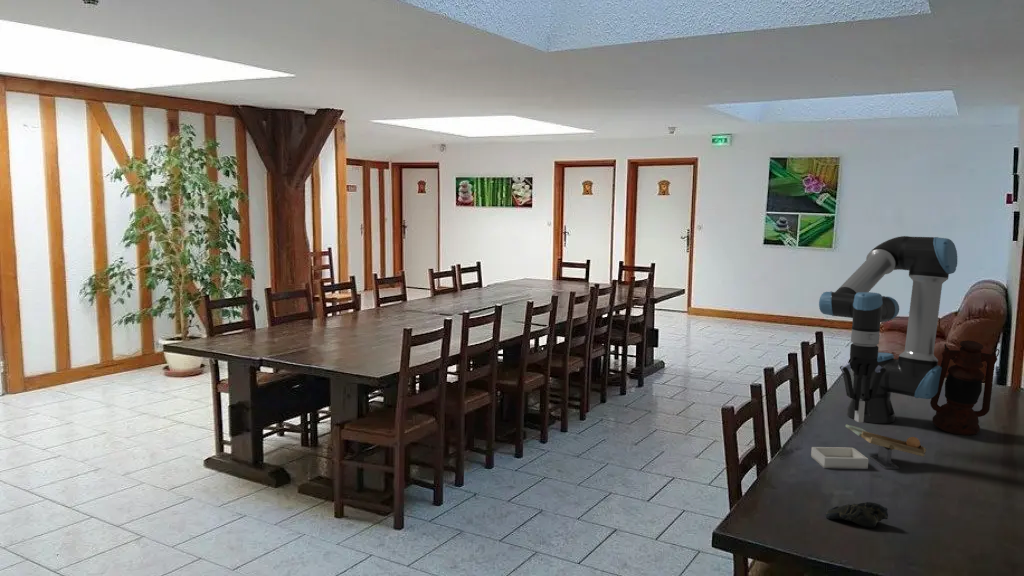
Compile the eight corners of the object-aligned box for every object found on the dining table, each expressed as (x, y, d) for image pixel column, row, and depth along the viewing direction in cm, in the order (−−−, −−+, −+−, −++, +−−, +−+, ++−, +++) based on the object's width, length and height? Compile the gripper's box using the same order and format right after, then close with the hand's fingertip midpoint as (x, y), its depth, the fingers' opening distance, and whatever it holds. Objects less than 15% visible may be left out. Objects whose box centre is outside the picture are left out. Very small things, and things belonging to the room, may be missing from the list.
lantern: (930, 431, 240) (945, 349, 230) (923, 411, 252) (937, 332, 242) (990, 439, 234) (1009, 355, 224) (980, 418, 246) (997, 338, 236)
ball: (902, 445, 211) (905, 434, 211) (914, 447, 211) (917, 436, 211) (908, 449, 208) (912, 437, 207) (920, 451, 208) (924, 440, 207)
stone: (824, 512, 177) (825, 491, 176) (884, 520, 172) (886, 499, 171) (826, 524, 170) (827, 502, 170) (888, 532, 166) (890, 510, 165)
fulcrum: (869, 457, 215) (871, 441, 214) (883, 458, 214) (884, 441, 214) (884, 468, 206) (886, 452, 205) (899, 469, 206) (900, 452, 205)
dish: (811, 456, 215) (811, 446, 215) (852, 457, 215) (853, 447, 214) (824, 468, 206) (824, 458, 205) (867, 468, 205) (868, 458, 205)
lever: (845, 426, 221) (847, 419, 221) (896, 439, 221) (899, 432, 221) (869, 444, 206) (872, 435, 205) (925, 458, 206) (928, 449, 205)
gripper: (848, 346, 211) (842, 424, 214) (893, 347, 211) (886, 425, 213) (837, 341, 218) (831, 417, 221) (880, 342, 218) (874, 417, 221)
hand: (858, 421), depth 217 cm, fingers closed
